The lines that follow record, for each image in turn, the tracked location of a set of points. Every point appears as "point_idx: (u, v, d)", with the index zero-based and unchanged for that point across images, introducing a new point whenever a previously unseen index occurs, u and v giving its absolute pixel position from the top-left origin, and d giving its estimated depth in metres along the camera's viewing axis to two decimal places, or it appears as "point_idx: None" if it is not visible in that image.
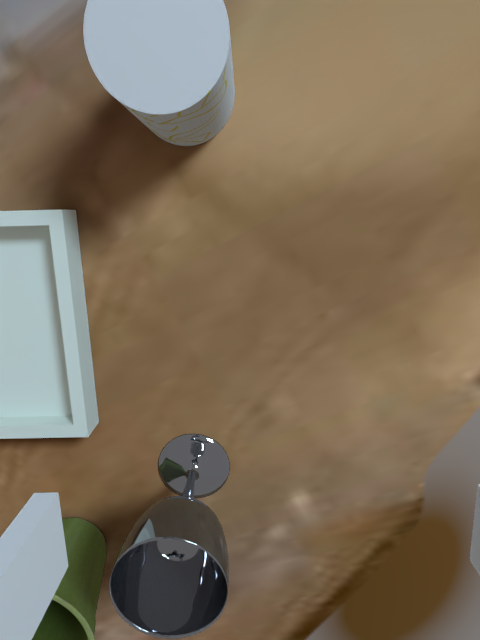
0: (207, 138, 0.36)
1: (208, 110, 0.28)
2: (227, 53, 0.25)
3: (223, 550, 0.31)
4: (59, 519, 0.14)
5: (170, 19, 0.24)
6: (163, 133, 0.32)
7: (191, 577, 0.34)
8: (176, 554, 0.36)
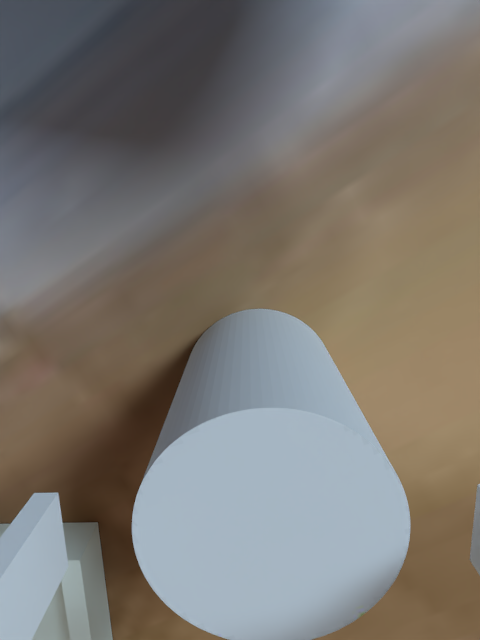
0: None
1: None
2: (401, 559, 0.13)
3: None
4: (59, 519, 0.14)
5: (297, 512, 0.13)
6: None
7: None
8: None
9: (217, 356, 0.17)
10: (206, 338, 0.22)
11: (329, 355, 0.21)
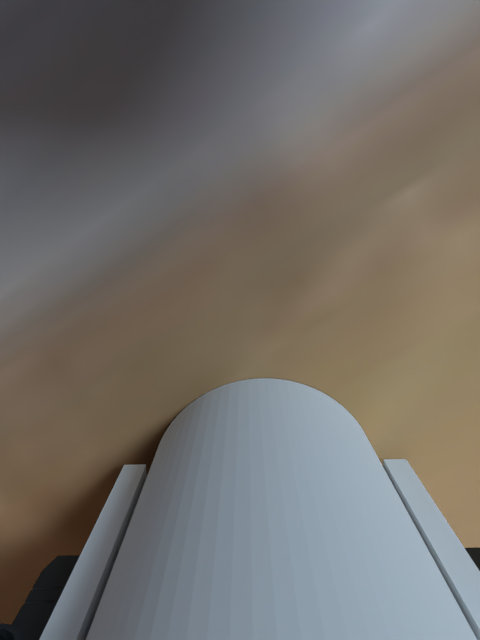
0: None
1: None
2: None
3: None
4: None
5: None
6: None
7: None
8: None
9: (188, 515, 0.09)
10: (179, 435, 0.13)
11: (381, 466, 0.13)
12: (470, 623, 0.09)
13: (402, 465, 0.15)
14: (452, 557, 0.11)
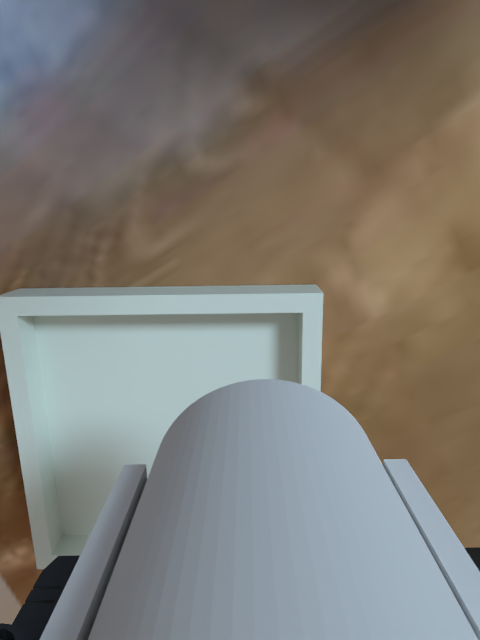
0: None
1: None
2: None
3: None
4: None
5: None
6: None
7: None
8: None
9: (189, 516, 0.09)
10: (179, 436, 0.13)
11: (382, 466, 0.13)
12: (470, 623, 0.09)
13: (402, 465, 0.15)
14: (452, 557, 0.11)
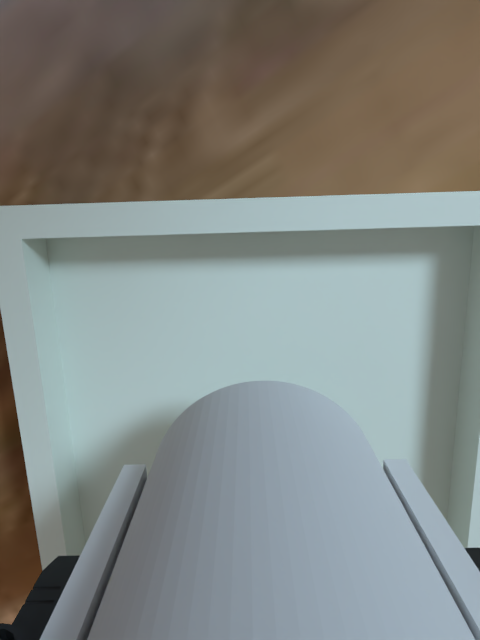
0: None
1: None
2: None
3: None
4: None
5: None
6: None
7: None
8: None
9: (187, 518, 0.09)
10: (178, 437, 0.13)
11: (381, 468, 0.13)
12: (470, 623, 0.09)
13: (402, 465, 0.15)
14: (452, 557, 0.11)
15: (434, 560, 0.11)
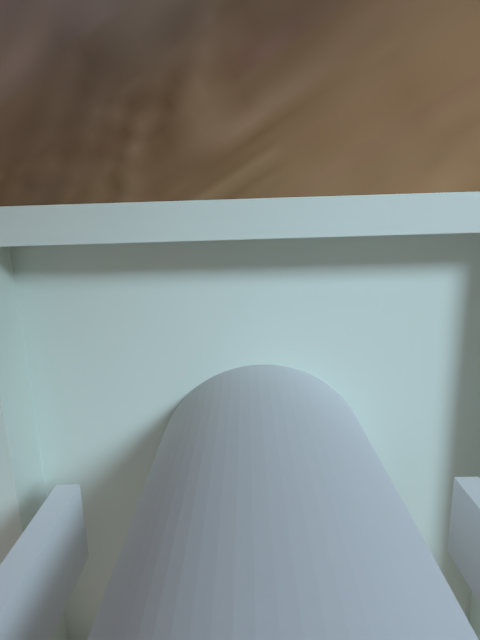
0: None
1: None
2: None
3: None
4: (81, 510, 0.14)
5: None
6: None
7: None
8: None
9: (197, 474, 0.10)
10: (186, 414, 0.15)
11: (369, 441, 0.14)
12: None
13: (476, 483, 0.14)
14: None
15: None
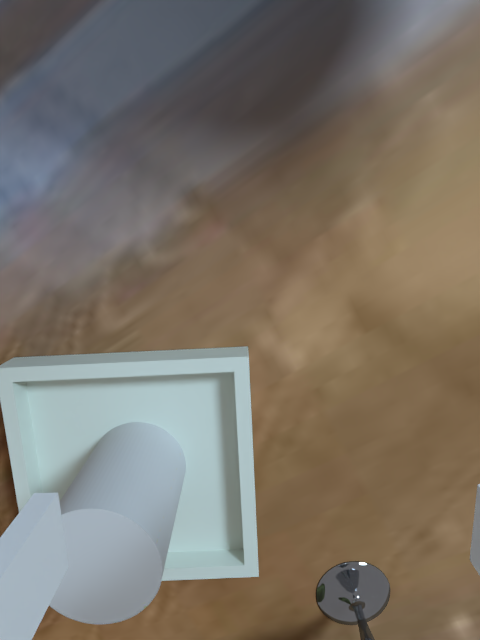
0: None
1: None
2: (161, 578, 0.27)
3: None
4: (59, 519, 0.14)
5: (107, 556, 0.27)
6: None
7: None
8: None
9: (90, 467, 0.32)
10: (98, 445, 0.36)
11: (171, 455, 0.36)
12: None
13: None
14: None
15: None
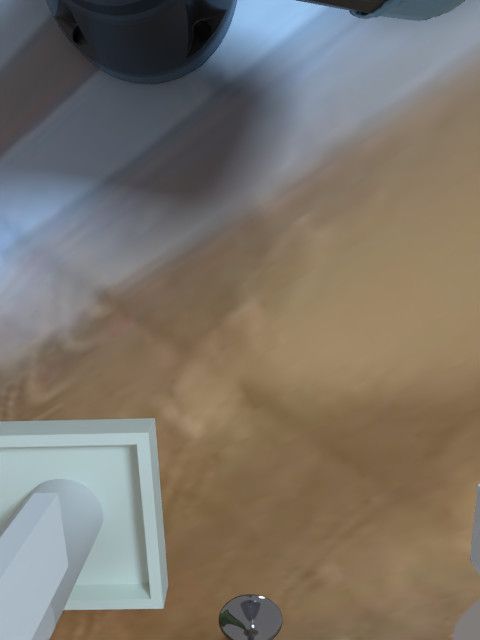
0: None
1: None
2: (54, 624, 0.34)
3: None
4: (59, 519, 0.14)
5: None
6: None
7: None
8: None
9: None
10: (24, 500, 0.43)
11: (84, 510, 0.43)
12: None
13: None
14: None
15: None
